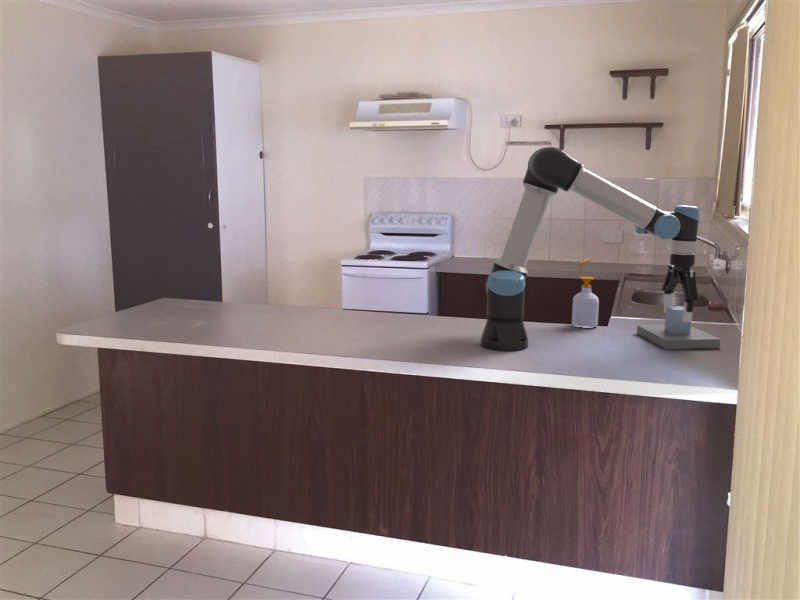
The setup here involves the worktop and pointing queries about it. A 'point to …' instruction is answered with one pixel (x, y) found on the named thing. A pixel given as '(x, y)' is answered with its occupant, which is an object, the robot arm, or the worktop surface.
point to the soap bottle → (585, 304)
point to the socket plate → (678, 338)
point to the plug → (676, 321)
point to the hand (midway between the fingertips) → (677, 317)
